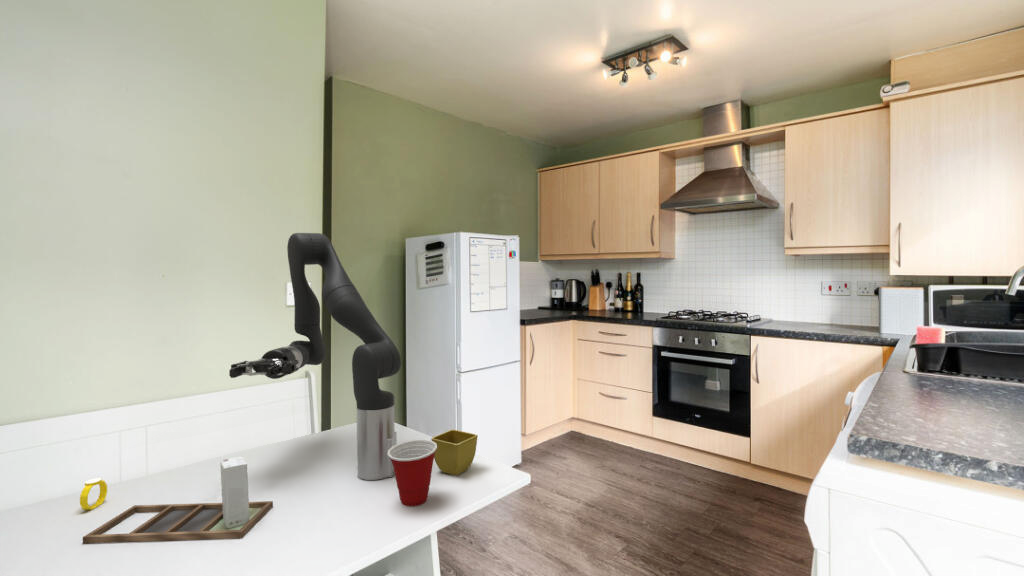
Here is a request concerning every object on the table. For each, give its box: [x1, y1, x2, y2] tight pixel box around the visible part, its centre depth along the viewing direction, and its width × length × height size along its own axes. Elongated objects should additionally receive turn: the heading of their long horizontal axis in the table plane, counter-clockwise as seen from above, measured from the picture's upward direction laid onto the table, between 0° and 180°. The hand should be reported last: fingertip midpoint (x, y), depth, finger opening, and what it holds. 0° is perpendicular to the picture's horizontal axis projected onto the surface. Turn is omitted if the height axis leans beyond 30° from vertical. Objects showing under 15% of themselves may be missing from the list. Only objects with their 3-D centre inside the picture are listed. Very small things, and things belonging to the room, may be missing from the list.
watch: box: [79, 477, 108, 511], centre depth 102 cm, size 6×3×6 cm, turn 7°
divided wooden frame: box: [82, 500, 274, 545], centre depth 94 cm, size 29×13×1 cm, turn 92°
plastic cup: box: [388, 438, 437, 507], centre depth 103 cm, size 11×11×12 cm
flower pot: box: [430, 429, 478, 476], centre depth 119 cm, size 9×9×9 cm
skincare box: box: [220, 455, 250, 529], centre depth 95 cm, size 6×4×12 cm
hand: (250, 373), depth 107 cm, fingers open, 8 cm apart
